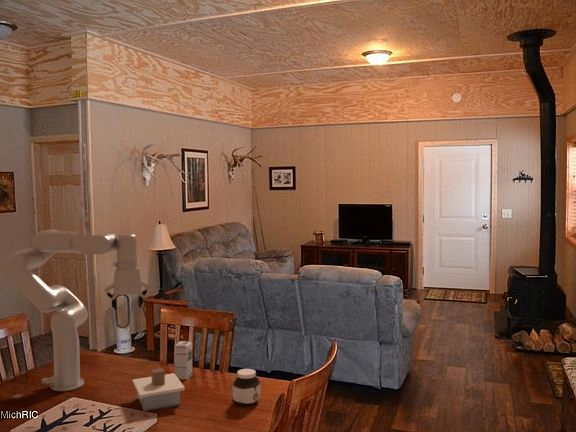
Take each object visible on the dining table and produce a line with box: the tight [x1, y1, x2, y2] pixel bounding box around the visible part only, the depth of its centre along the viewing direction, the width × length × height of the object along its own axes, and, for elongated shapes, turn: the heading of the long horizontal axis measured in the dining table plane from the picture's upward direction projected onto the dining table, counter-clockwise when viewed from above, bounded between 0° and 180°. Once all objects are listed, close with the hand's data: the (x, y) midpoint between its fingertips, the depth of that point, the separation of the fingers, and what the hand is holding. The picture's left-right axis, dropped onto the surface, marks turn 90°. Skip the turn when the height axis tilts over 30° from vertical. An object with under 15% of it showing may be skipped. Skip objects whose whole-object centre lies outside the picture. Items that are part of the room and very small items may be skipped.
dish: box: [137, 391, 181, 412], centre depth 197 cm, size 13×13×6 cm
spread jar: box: [232, 368, 261, 407], centre depth 199 cm, size 12×11×12 cm
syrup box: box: [174, 340, 194, 380], centre depth 222 cm, size 6×6×14 cm
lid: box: [132, 367, 186, 398], centre depth 196 cm, size 16×16×6 cm
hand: (127, 307), depth 208 cm, fingers open, 9 cm apart
